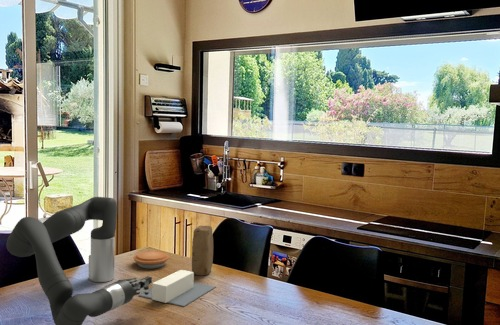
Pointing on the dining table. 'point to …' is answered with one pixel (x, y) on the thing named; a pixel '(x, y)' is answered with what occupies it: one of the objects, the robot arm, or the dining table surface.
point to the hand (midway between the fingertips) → (149, 279)
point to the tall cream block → (172, 286)
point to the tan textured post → (202, 250)
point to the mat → (186, 294)
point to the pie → (151, 259)
